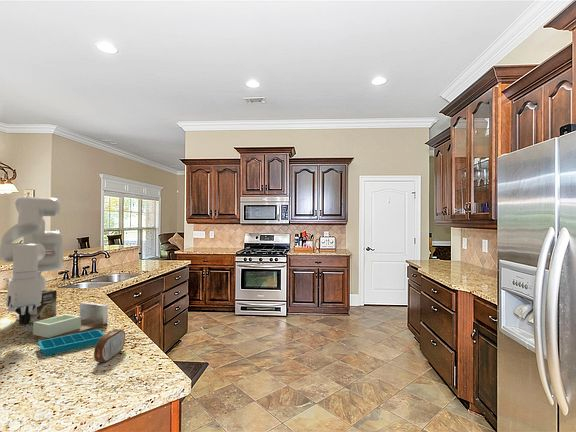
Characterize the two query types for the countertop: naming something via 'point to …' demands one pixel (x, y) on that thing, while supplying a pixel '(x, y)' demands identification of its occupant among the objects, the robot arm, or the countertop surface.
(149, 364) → the countertop surface
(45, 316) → the coffee box
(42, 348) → the ice cube tray
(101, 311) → the stop wall
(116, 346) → the tin
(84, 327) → the brown flat board
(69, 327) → the pale green open box
